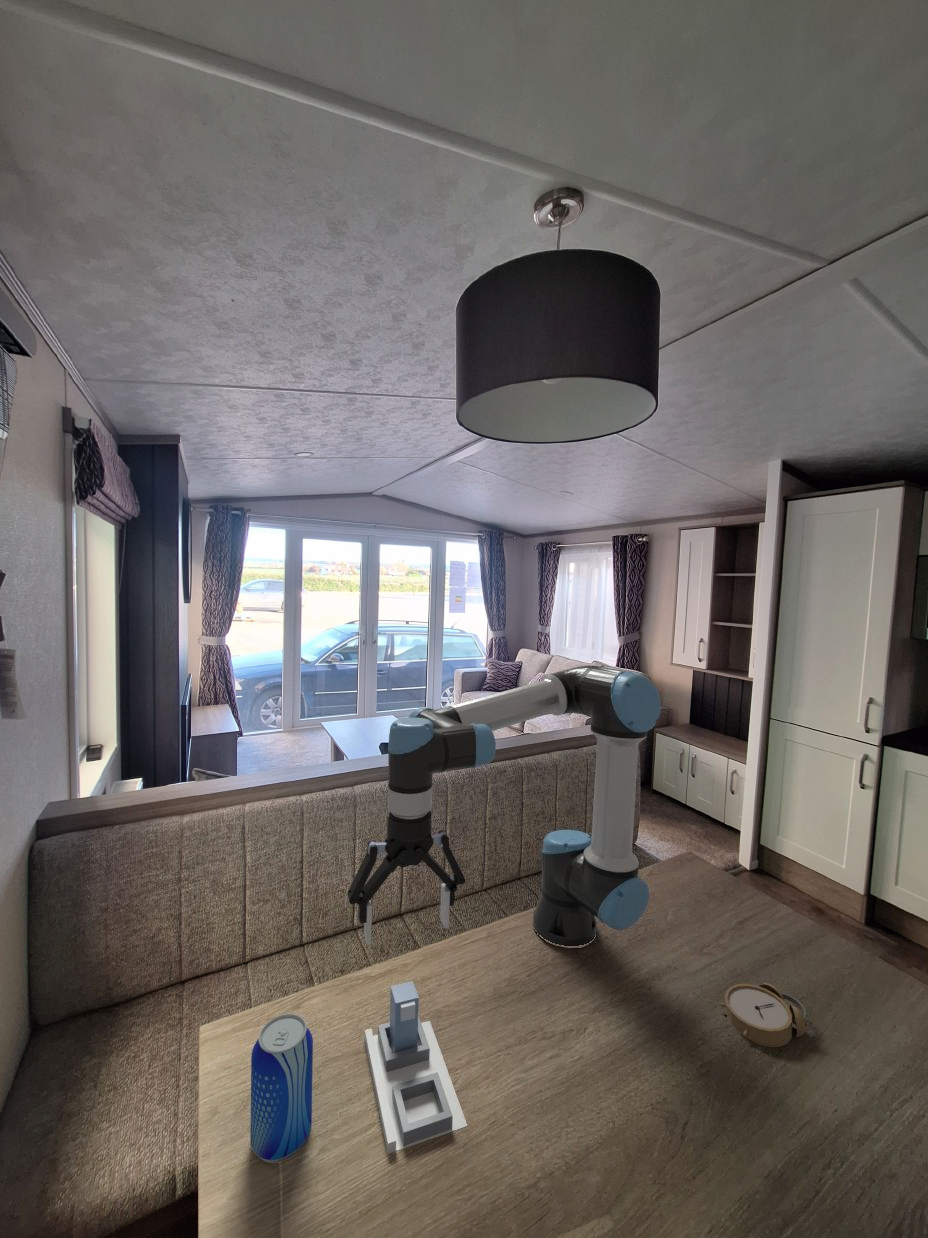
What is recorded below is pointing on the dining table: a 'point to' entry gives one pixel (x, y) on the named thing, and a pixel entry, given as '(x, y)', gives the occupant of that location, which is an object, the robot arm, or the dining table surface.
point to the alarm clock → (763, 1014)
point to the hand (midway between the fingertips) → (407, 931)
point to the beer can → (281, 1088)
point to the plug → (403, 1017)
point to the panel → (412, 1089)
